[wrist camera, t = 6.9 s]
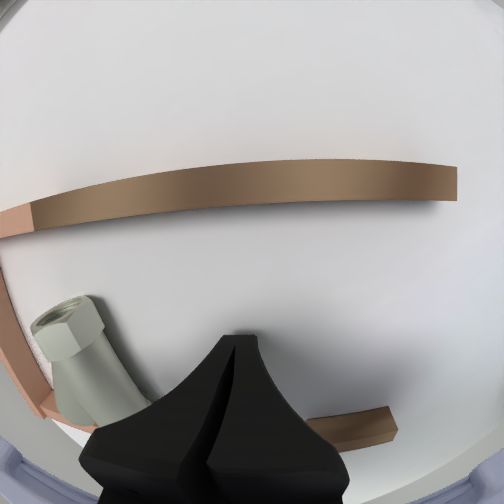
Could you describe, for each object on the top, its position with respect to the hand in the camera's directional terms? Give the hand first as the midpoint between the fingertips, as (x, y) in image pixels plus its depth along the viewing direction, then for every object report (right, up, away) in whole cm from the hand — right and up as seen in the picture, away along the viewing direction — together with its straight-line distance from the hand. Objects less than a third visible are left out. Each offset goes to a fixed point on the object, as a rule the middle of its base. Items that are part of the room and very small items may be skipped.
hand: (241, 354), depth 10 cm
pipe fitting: (-9, -2, +3) cm, 9 cm away
